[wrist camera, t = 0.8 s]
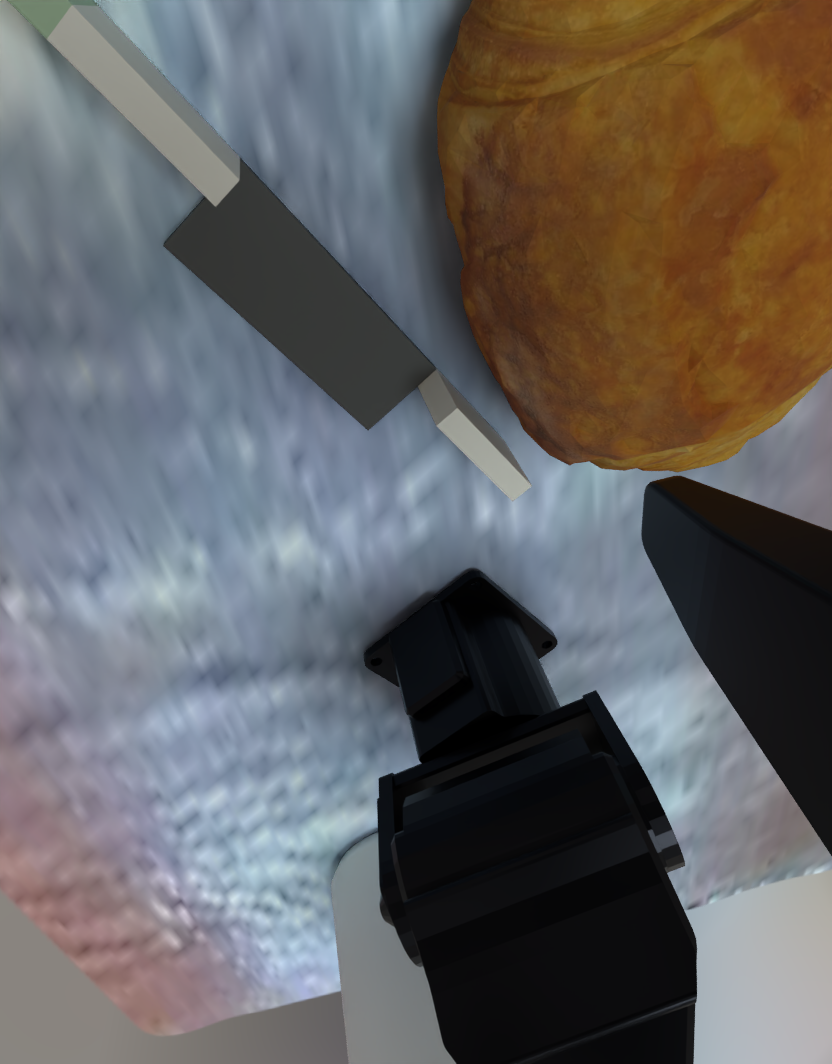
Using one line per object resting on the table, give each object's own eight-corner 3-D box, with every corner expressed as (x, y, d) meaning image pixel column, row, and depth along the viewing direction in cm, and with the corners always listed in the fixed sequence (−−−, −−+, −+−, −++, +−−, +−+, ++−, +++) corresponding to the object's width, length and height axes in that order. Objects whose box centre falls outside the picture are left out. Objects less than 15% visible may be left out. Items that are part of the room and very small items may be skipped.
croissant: (481, 437, 27) (552, 592, 21) (346, -71, 15) (427, -17, 10) (837, 307, 26) (1006, 433, 20) (980, -329, 14) (1451, -428, 9)
